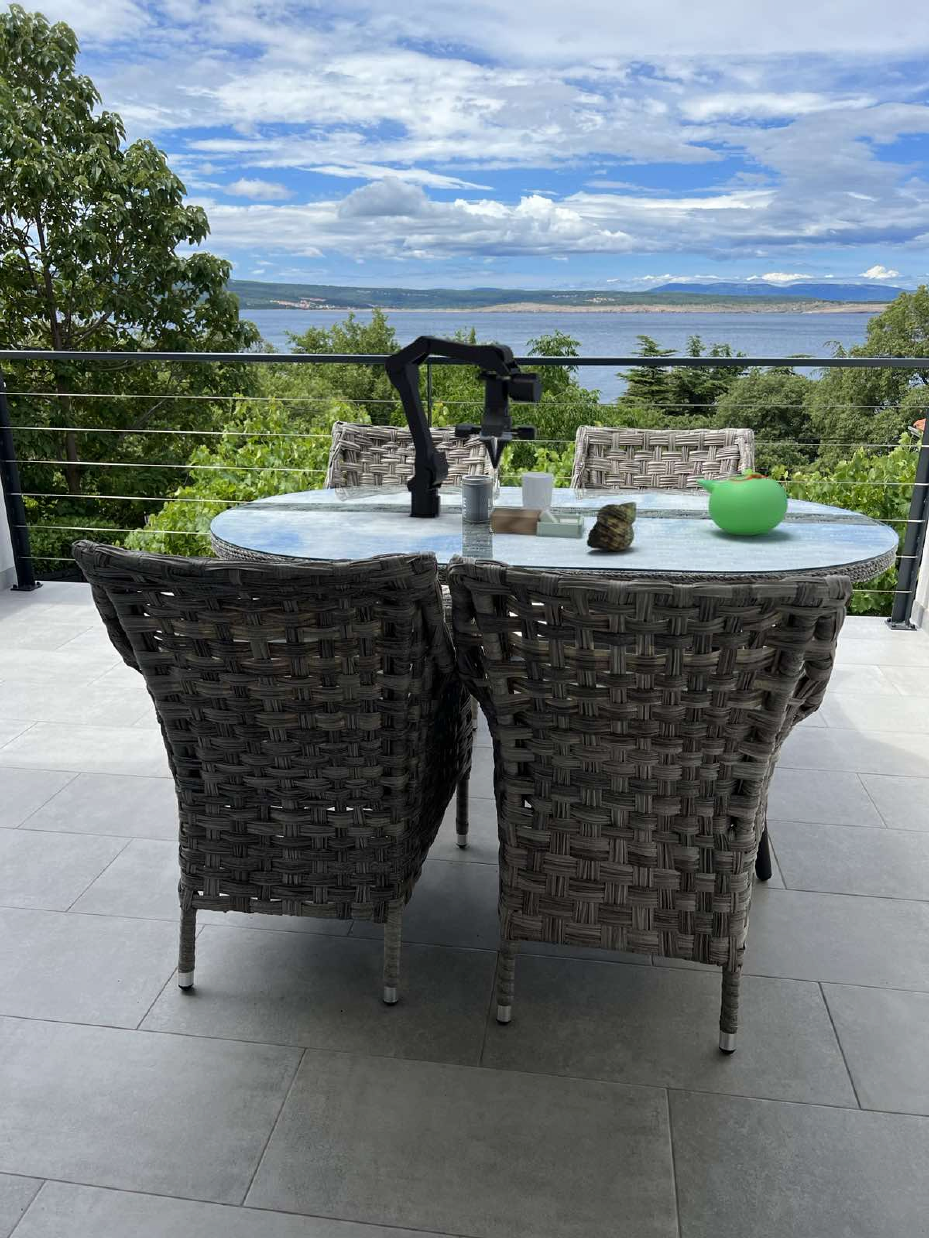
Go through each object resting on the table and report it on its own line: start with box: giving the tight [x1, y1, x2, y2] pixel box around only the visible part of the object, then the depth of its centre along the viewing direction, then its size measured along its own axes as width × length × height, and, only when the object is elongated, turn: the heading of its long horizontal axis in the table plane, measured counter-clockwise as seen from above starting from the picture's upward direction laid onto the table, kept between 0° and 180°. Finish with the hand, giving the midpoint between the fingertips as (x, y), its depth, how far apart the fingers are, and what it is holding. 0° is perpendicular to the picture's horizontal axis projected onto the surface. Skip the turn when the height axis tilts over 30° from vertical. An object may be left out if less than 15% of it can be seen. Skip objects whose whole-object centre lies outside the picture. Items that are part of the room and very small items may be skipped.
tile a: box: [539, 509, 558, 523], centre depth 228 cm, size 4×4×2 cm
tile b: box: [560, 519, 578, 524], centre depth 228 cm, size 4×4×2 cm
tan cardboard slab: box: [489, 507, 541, 536], centre depth 229 cm, size 11×9×4 cm
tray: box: [536, 513, 585, 539], centre depth 228 cm, size 10×11×3 cm
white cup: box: [521, 471, 555, 513], centre depth 246 cm, size 8×8×10 cm
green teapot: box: [695, 468, 789, 536], centre depth 226 cm, size 18×17×15 cm
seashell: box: [586, 501, 637, 551], centre depth 211 cm, size 11×11×10 cm
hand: (495, 468), depth 233 cm, fingers closed
